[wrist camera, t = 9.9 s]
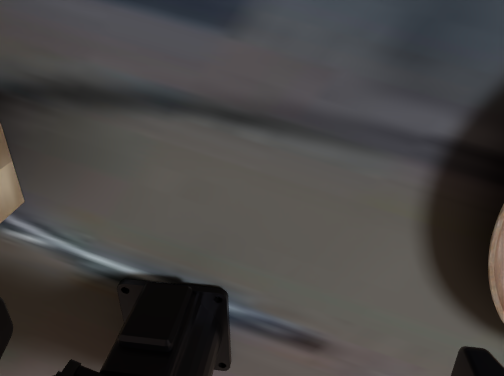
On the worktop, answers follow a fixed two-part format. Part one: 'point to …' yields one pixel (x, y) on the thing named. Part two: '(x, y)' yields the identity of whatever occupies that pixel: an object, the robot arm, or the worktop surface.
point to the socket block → (8, 182)
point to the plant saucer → (497, 265)
